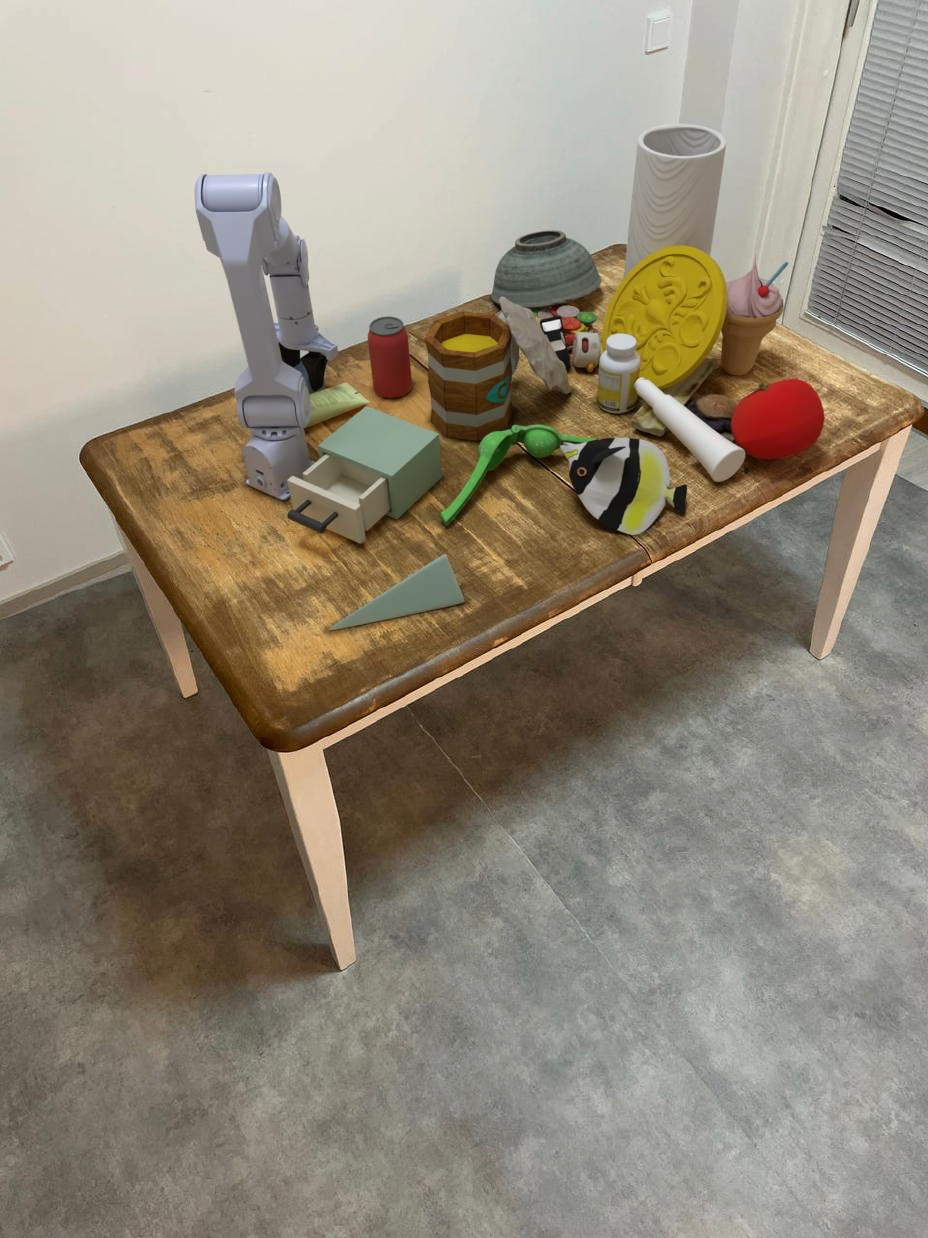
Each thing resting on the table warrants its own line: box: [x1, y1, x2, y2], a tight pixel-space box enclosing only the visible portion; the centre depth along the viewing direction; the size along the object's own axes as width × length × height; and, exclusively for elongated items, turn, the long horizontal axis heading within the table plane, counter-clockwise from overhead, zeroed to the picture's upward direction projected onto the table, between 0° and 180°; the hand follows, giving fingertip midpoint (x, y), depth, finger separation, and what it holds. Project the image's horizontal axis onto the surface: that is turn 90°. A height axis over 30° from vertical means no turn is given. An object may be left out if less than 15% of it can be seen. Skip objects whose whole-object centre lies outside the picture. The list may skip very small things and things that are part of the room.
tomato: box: [731, 378, 825, 460], centre depth 145 cm, size 12×14×11 cm
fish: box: [560, 437, 688, 536], centre depth 139 cm, size 12×20×15 cm
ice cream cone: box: [720, 254, 789, 376], centre depth 158 cm, size 11×11×20 cm
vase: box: [623, 123, 727, 279], centre depth 165 cm, size 14×14×32 cm
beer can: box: [367, 315, 413, 399], centre depth 160 cm, size 7×7×12 cm
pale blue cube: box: [294, 362, 327, 394], centre depth 164 cm, size 4×4×4 cm
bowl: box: [490, 230, 602, 309], centre depth 180 cm, size 21×21×10 cm
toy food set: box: [530, 302, 598, 351], centre depth 173 cm, size 13×13×3 cm
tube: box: [248, 381, 371, 431], centre depth 158 cm, size 6×5×20 cm
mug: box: [424, 310, 520, 442], centre depth 154 cm, size 20×14×15 cm
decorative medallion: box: [601, 245, 727, 390], centre depth 157 cm, size 24×24×2 cm
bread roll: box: [685, 393, 738, 443], centre depth 154 cm, size 11×8×4 cm
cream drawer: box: [286, 453, 391, 544], centre depth 139 cm, size 15×12×6 cm
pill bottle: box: [596, 334, 641, 414], centre depth 155 cm, size 6×6×12 cm
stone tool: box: [499, 297, 573, 395], centre depth 152 cm, size 12×4×25 cm
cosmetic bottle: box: [634, 377, 746, 483], centre depth 148 cm, size 6×6×22 cm
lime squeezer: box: [439, 424, 598, 527], centre depth 145 cm, size 34×12×6 cm, turn 115°
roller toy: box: [571, 332, 601, 373], centre depth 165 cm, size 4×6×6 cm
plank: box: [630, 357, 719, 437], centre depth 159 cm, size 23×6×3 cm, turn 149°
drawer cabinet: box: [317, 406, 443, 521], centre depth 144 cm, size 12×14×8 cm
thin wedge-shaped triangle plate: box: [328, 553, 466, 631], centre depth 128 cm, size 8×6×18 cm
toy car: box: [540, 316, 571, 371], centre depth 167 cm, size 10×4×3 cm
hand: (307, 384), depth 164 cm, fingers closed on pale blue cube, 4 cm apart
